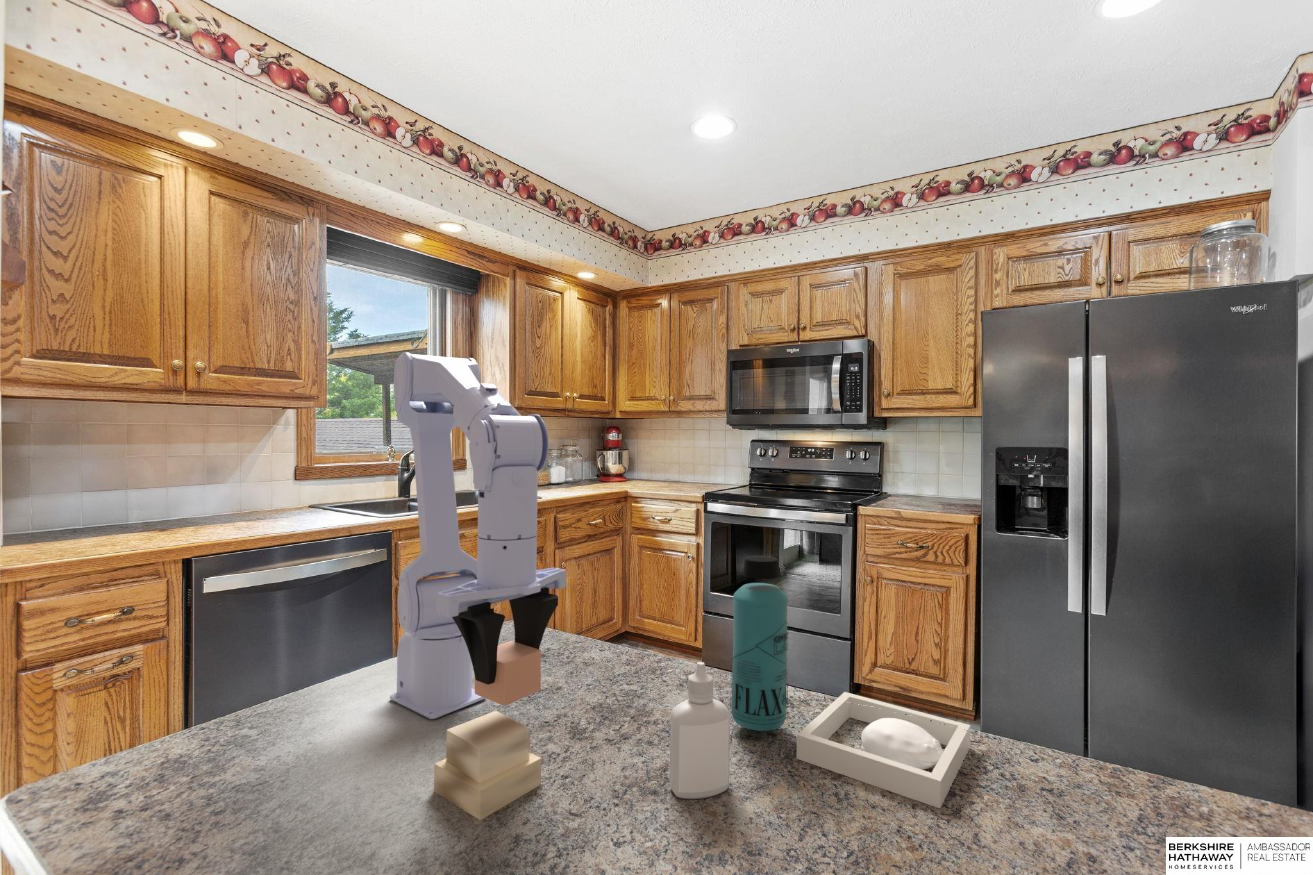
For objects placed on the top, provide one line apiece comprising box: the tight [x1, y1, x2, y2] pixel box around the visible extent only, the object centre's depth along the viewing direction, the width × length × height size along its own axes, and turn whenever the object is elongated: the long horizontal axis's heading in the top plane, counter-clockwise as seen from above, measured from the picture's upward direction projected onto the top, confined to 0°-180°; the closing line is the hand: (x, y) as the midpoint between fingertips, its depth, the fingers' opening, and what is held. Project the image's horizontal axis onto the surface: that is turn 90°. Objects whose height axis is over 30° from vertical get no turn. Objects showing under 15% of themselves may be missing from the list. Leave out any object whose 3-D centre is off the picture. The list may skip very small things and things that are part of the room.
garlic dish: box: [796, 691, 971, 809], centre depth 66 cm, size 14×14×2 cm
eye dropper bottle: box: [668, 661, 731, 800], centre depth 58 cm, size 4×6×12 cm
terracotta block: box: [474, 640, 542, 707], centre depth 60 cm, size 4×4×4 cm
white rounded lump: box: [860, 718, 944, 771], centre depth 64 cm, size 8×7×4 cm
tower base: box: [433, 751, 542, 821], centre depth 58 cm, size 7×7×3 cm
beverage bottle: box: [729, 555, 789, 731], centre depth 70 cm, size 6×7×20 cm
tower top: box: [445, 710, 531, 783], centre depth 58 cm, size 6×6×3 cm
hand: (505, 673), depth 61 cm, fingers closed on terracotta block, 4 cm apart
